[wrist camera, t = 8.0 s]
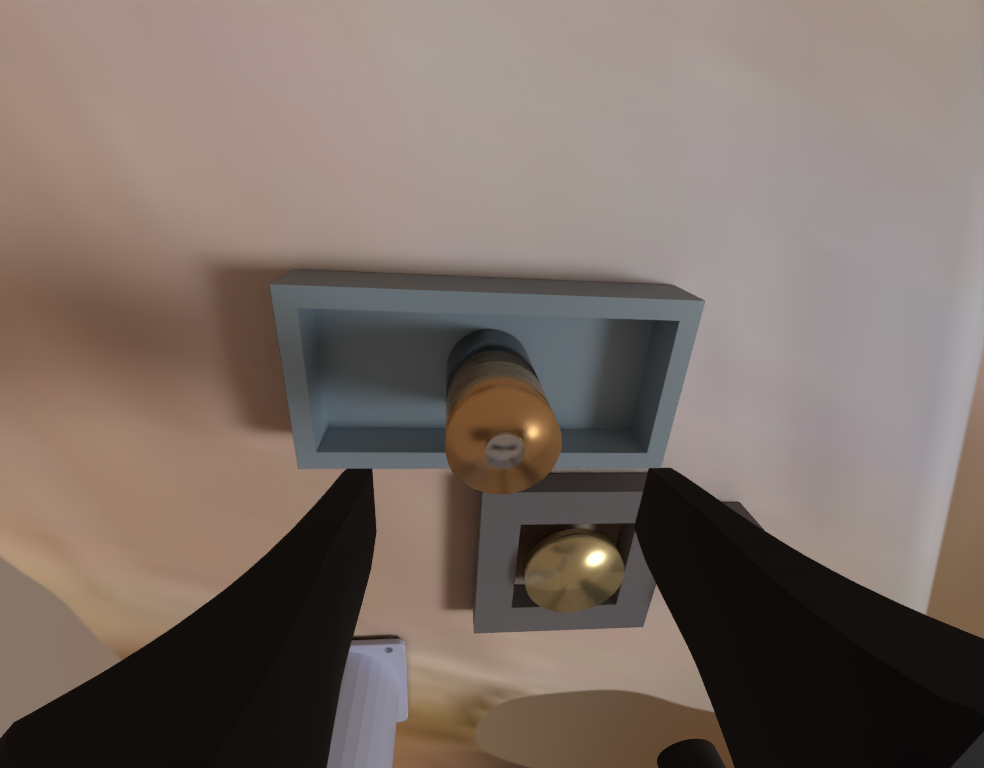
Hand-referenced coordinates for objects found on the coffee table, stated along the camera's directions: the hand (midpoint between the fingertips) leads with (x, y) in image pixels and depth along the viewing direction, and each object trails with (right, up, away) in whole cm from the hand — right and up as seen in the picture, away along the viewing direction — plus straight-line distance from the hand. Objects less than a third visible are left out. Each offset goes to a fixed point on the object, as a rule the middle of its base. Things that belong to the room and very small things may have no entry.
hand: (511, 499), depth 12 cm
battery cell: (-1, +4, +8) cm, 8 cm away
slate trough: (-1, +4, +8) cm, 9 cm away
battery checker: (+6, -6, +14) cm, 16 cm away
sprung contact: (+4, -7, +12) cm, 14 cm away
